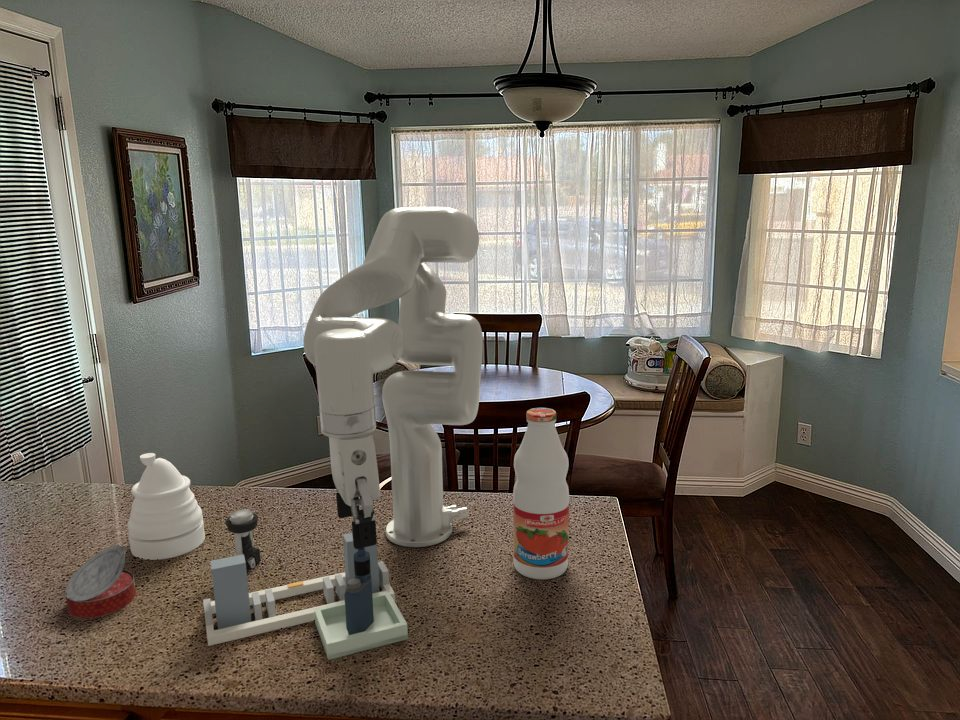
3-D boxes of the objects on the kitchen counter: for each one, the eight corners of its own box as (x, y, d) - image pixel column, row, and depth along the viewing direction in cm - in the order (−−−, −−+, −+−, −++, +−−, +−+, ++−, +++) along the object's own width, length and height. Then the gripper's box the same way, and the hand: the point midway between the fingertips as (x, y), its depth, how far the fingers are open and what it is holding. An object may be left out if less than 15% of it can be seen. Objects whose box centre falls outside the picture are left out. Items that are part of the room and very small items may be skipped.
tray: (389, 605, 114) (388, 591, 113) (407, 639, 105) (407, 623, 105) (315, 623, 109) (314, 608, 109) (328, 660, 101) (327, 644, 100)
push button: (244, 580, 122) (238, 526, 119) (218, 575, 124) (212, 521, 121) (268, 562, 128) (263, 509, 125) (244, 557, 130) (238, 505, 127)
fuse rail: (378, 572, 124) (375, 518, 121) (395, 601, 115) (392, 543, 113) (204, 611, 113) (197, 552, 111) (208, 646, 104) (200, 583, 102)
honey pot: (159, 566, 127) (146, 470, 123) (116, 548, 134) (102, 456, 129) (219, 537, 137) (210, 447, 133) (176, 521, 144) (166, 436, 140)
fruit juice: (563, 552, 129) (565, 402, 123) (572, 580, 120) (574, 419, 114) (511, 554, 129) (510, 403, 123) (515, 582, 120) (515, 421, 114)
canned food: (130, 632, 116) (122, 598, 110) (61, 634, 114) (48, 599, 107) (146, 571, 124) (138, 536, 118) (81, 572, 122) (71, 536, 116)
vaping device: (377, 619, 109) (373, 546, 106) (359, 639, 104) (354, 563, 101) (362, 615, 110) (358, 543, 107) (343, 635, 105) (338, 560, 102)
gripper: (392, 435, 94) (399, 553, 98) (359, 397, 109) (366, 500, 114) (334, 445, 91) (344, 565, 95) (309, 404, 106) (318, 510, 111)
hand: (356, 530), depth 104 cm, fingers open, 9 cm apart
